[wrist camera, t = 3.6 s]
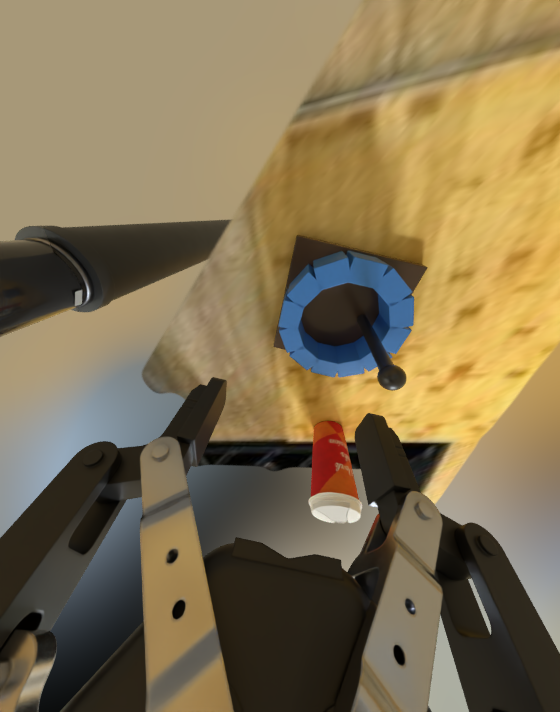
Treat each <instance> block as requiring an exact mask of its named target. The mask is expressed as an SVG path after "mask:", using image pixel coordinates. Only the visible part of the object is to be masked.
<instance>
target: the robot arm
mask: <svg viewBox="0 0 560 712" xmlns="http://www.w3.org/2000/svg"><path fill="white" fill-rule="evenodd" d="M93 296H94V287H93V283H92V280H91V278H90V276H89V274H88V272H87V271H86V269H85V268H84V266H83V265H82V264H81V263H80V261H79V260H78V259H77V258H76V257H75V256H74V255H73V254H72V253H71V252H69V251H68V250H67V249H65V248H64V247H63V246H61V245H59V244H58V243H56V242H54V241H51V240H49V239H45V238H27V239H23V240H14V241H0V337H1V336H4V335H7V334H9V333H12V332H14V331H17V330H19V329H22V328H24V327H27V326H30V325H32V324H35V323H37V322H40V321H42V320H45V319H47V318H50V317H53V316H55V315H58V314H60V313H63V312H66V311H68V310H71V309H73V308H76V307H80V306H83V305H86V304H88V303H89V302H90V301H91V300H92V299H93ZM226 384H227V381H226V380H223V379H218V378H214V377H212V378H211V380H210V382H209V383H208V385H207V386H205V385H199V386H198V387H196V388H195V389H193V390H192V391H191V393H190V394H189V396H188V397H187V399H186V400H185V402H184V403H183V405H182V407H181V408H180V409H179V411H178V412H177V414H176V415H175V417H174V418H173V420H172V421H171V423H170V424H169V426H168V427H167V429H166V430H165V432H164V433H163V434H162V435H161V436H160V437H159V438H157V439H155V440H153V441H152V442H150V443H149V444H147V445H143V446H137V447H127V448H117V447H116V445H115V444H113V443H111V442H106V441H103V442H97V443H94V444H91V445H89V446H87V447H85V448H84V449H82V450H81V451H79V452H78V453H77V454H76V455H75V456H74V457H73V458H72V459H71V460H70V462H69V463H68V464H67V465H66V466H65V467H64V468H63V469H62V470H61V472H60V473H59V474H58V475H57V476H56V477H55V478H54V479H53V480H52V481H51V483H50V484H49V485H48V486H47V487H46V488H45V489H44V490H43V491H42V493H41V494H40V495H39V496H38V497H37V498H36V499H35V500H34V501H33V503H32V504H31V505H30V506H29V507H28V508H27V509H26V510H25V511H24V513H23V514H22V515H21V516H20V517H19V518H18V519H17V521H15V522H14V524H13V525H12V526H11V527H10V528H9V529H8V530H7V531H6V533H5V534H4V535H3V536H2V537H1V538H0V712H38V707H39V701H40V696H41V692H42V690H43V687H44V684H45V682H46V679H47V677H48V675H49V673H50V670H51V668H52V666H53V663H54V659H55V655H56V647H57V644H56V639H55V636H54V635H53V633H51V632H50V630H51V628H52V627H53V625H54V623H55V622H56V620H57V618H58V616H59V615H60V613H61V611H62V609H63V608H64V606H65V604H66V603H67V601H68V599H69V598H70V596H71V594H72V592H73V591H74V589H75V587H76V586H77V584H78V582H79V580H80V579H81V577H82V575H83V574H84V572H85V570H86V569H87V567H88V565H89V563H90V562H91V560H92V558H93V556H94V555H95V553H96V551H97V549H98V548H99V546H100V544H101V543H102V541H103V539H104V538H105V536H106V534H107V533H108V531H109V529H110V527H111V526H112V524H113V522H114V521H115V519H116V517H117V515H118V513H119V512H120V510H121V508H122V507H123V505H124V503H125V502H126V500H127V499H132V498H138V497H142V505H143V515H142V518H141V521H140V541H141V542H140V543H141V566H142V590H143V613H144V621H143V622H142V624H141V625H140V626H139V627H138V628H137V629H136V630H135V631H134V632H133V633H132V635H130V637H129V638H128V639H127V640H126V641H125V642H124V643H123V644H122V645H121V646H120V647H119V648H118V650H117V651H116V652H115V653H114V654H113V655H112V656H111V657H110V658H109V660H107V661H106V663H105V664H104V665H103V666H102V667H101V668H100V669H99V670H98V671H97V672H96V673H95V674H94V675H93V677H92V678H91V679H90V680H89V681H88V682H87V683H86V684H85V685H84V687H82V689H81V690H80V691H79V692H78V693H77V694H76V695H75V696H74V697H73V698H72V699H71V701H70V702H69V703H68V704H67V705H66V706H65V707H64V708H63V709H62V710H61V711H60V712H431V710H430V708H429V706H428V701H429V694H430V685H431V679H432V671H433V663H434V657H435V649H436V642H437V634H438V627H439V619H440V614H441V618H442V621H443V625H444V628H445V631H446V635H447V638H448V641H449V645H450V648H451V652H452V655H453V658H454V662H455V665H456V669H457V672H458V675H459V679H460V682H461V685H462V689H463V691H464V695H465V699H466V702H467V706H468V709H469V712H560V653H559V652H558V650H557V648H556V646H555V644H554V642H553V641H552V639H551V637H550V635H549V633H548V631H547V630H546V628H545V626H544V624H543V622H542V620H541V619H540V617H539V615H538V613H537V611H536V609H535V607H534V606H533V604H532V602H531V600H530V598H529V596H528V595H527V593H526V591H525V589H524V587H523V585H522V584H521V582H520V580H519V578H518V576H517V574H516V573H515V571H514V569H513V567H512V565H511V564H510V562H509V560H508V558H507V556H506V554H505V552H504V551H503V549H502V547H501V546H500V544H499V543H498V542H497V540H496V539H495V538H494V537H493V536H492V535H491V534H490V533H489V532H488V531H487V530H486V529H484V528H483V527H481V526H480V525H478V524H475V523H467V524H465V525H460V524H458V523H456V522H455V521H453V520H451V519H450V518H448V517H446V516H444V515H442V514H441V513H439V511H438V509H437V507H436V506H435V505H434V503H433V502H432V501H431V500H430V499H429V498H428V497H426V496H425V495H423V494H422V493H421V492H420V489H419V487H418V484H417V482H416V480H415V477H414V475H413V472H412V470H411V467H410V465H409V462H408V460H407V458H406V455H405V452H404V450H403V449H402V448H403V447H402V445H401V442H400V440H399V438H398V436H397V435H396V434H395V432H394V431H393V430H392V428H388V425H387V423H386V420H385V418H384V417H383V416H379V415H375V414H370V413H368V414H367V415H366V416H365V417H364V419H363V420H362V422H361V423H360V424H359V426H358V427H357V429H356V431H355V442H356V447H357V452H358V457H359V462H360V466H361V471H362V476H363V481H364V486H365V491H366V496H367V500H368V505H369V506H373V507H378V511H379V514H378V515H377V516H376V518H375V521H374V523H373V525H372V527H371V530H370V532H369V534H368V537H367V539H366V541H365V544H364V546H363V548H362V550H361V552H360V554H359V555H358V557H357V558H356V559H355V560H354V562H353V563H352V565H351V566H350V568H349V570H348V572H346V571H345V570H344V569H342V566H341V560H339V559H335V558H330V557H325V556H321V555H315V554H314V555H308V556H302V557H296V558H286V557H284V556H282V555H281V554H279V553H277V552H276V551H274V550H273V549H271V548H269V547H268V546H266V545H264V544H263V543H260V542H255V541H251V540H246V539H241V538H237V537H236V538H235V542H234V543H231V544H226V545H224V546H220V547H219V548H216V549H215V550H213V551H211V552H210V553H208V554H207V555H206V556H205V557H202V552H201V547H200V542H199V538H198V533H197V528H196V523H195V518H194V513H193V508H192V503H191V498H190V494H189V489H188V484H187V479H186V475H187V473H188V471H189V469H190V466H195V467H197V466H198V464H199V462H200V460H201V457H202V455H203V453H204V451H205V448H206V446H207V444H208V442H209V439H210V437H211V435H212V433H213V430H214V428H215V426H216V424H217V421H218V419H219V417H220V415H221V412H222V410H223V408H224V405H225V400H226ZM471 578H472V580H473V582H474V584H475V587H476V589H477V592H478V594H479V597H480V599H481V601H482V604H483V606H484V608H485V611H486V613H487V616H488V618H489V621H490V624H491V635H490V633H489V631H488V628H487V626H486V623H485V621H484V618H483V616H482V613H481V611H480V609H479V606H478V603H477V601H476V598H475V596H474V593H473V591H472V588H471V586H470V583H469V581H468V579H471Z"/></svg>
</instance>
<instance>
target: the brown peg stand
mask: <svg viewBox="0 0 560 712" xmlns="http://www.w3.org/2000/svg"><path fill="white" fill-rule="evenodd" d="M340 251H343V253H344V254H345V255H346V254H347V251H352V252H357V253H361V254H365V255H369V256H373V257H376V258H378V259H380V260H381V261H383V262H385V263H386V264H388V265H390V266H391V267H393V268H394V269H395V270H396V272H397V273H398V274H399V275H400V277H401V278H402V279H403V280H404V282H405V283H406V284H407V285H408V287H409V288H410V289H411V290H412V293H413V291H414V290H415V288H416V286H417V284H418V283H419V281H420V279H421V278H422V276H423V274H424V273H425V271H426V269H427V267H426V266H424V265H420V264H416V263H412V262H408V261H404V260H400V259H395V258H391V257H387V256H383V255H379V254H375V253H371V252H366V251H362V250H358V249H354V248H350V247H346V246H341V245H337V244H333V243H329V242H325V241H321V240H317V239H312V238H308V237H304V236H300V235H297V237H296V242H295V247H294V252H293V256H292V261H291V266H290V271H289V275H288V280H287V285H286V290H285V294H284V298H285V295H286V292H287V289H289V285H290V283H291V282H292V281H293V280H294V279H295V278H296V277H297V276H298V275H299V274H300V272H301V271H302V270H303V269H304V268H305V267H306V266H307V265H308V264H310V265H311V266H312V267H313V268H314V266H313V261H314V260H316V259H319V258H322V257H325V256H328V255H331V254H334V253H337V252H340ZM412 293H410V294H411V295H412ZM283 302H284V299H283ZM282 307H283V304H282ZM281 312H282V309H281ZM378 315H379V303H378V293H377V292H376V291H375V290H374V289H373V288H369V287H365V286H361V285H357V284H352V283H345V284H341V285H338V286H334V287H331V288H327V289H324V290H322V291H321V292H320V293H319V294H318V295H317V296H316V297H315V298H313V299H312V300H311V301H310V302H309V303H308V304H307V305H306V306H305V307H304V310H303V313H302V317H301V321H302V324H303V327H304V331H305V332H306V333H307V334H308V335H310V336H311V337H312V338H313V339H314V340H315V341H316V342H318V343H322V344H326V345H331V346H340V345H344V344H349V343H354V342H355V341H356V340H358V339H359V338H361V337H362V336H364V338H365V340H366V342H367V344H368V347H369V349H370V351H371V353H372V356H373V358H374V360H375V362H376V364H377V367H378V369H379V372H378V376H377V378H378V382H379V384H380V385H381V386H382V387H383V388H385V389H388V390H398V389H400V388H402V387H403V386H404V384H405V383H406V374H405V372H404V370H403V369H401V368H400V367H398V366H396V365H394V364H393V362H392V361H391V359H390V357H389V355H388V354H387V352H386V350H385V348H384V346H383V345H382V343H381V341H380V339H379V338H378V336H377V334H376V332H375V331H374V329H373V327H372V326H373V324H374V322H375V320H376V318H377V316H378ZM280 316H281V313H280ZM279 321H280V318H279ZM279 328H280V327H279V323H278V327H277V332H276V337H275V342H274V347H277V348H281V349H285V346H284V343H283V341H282V338H281V335H280V333H279ZM285 350H286V349H285Z"/></svg>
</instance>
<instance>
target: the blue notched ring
mask: <svg viewBox="0 0 560 712" xmlns="http://www.w3.org/2000/svg"><path fill="white" fill-rule="evenodd" d="M313 266H314V268H313V267H312V266H311V265H310V264H308V265H307V266H306V267H305V268H304V269H303V270H302V271H301V272H300V274H299V275H298V276H297V277H296V278H295V279H294V280H293V281H292V282H291V283H290V285H289V289H287V292H286V295H285V298H284V302H283V307H282V312H281V316H280V321H279V327H280V328H279V333H280V335H281V338H282V341H283V343H284V346H285V349H286V351H287V353H288V352H290V357H291V358H293V359H294V360H295V361H296V362H298V363H299V364H300V365H301V366H303V367H304V368H305V369H306V370H308V369H310V368H311V372H313V373H318V374H322V375H326V376H331V377H335V375H336V373H337V372H338V377H345V376H351V375H357V374H363V373H364V368H365V369H367V370H368V371H371V370H372V369H374V368H376V367H377V364H376V362H375V360H374V358H373V356H372V353H371V351H370V349H369V347H368V344H367V342H366V340H365V338H364V336H362V337H361V338H359V339H358V340H356V341H355V342H354V343H349V344H344V345H340V346H331V345H326V344H322V343H318V342H316V341H315V340H314V339H313V338H312V337H311V336H310V335H308V334H307V333H306V332H305V331H304V327H303V324H302V321H301V317H302V313H303V310H304V307H305V306H306V305H307V304H308V303H309V302H310V301H311V300H312V299H313V298H315V297H316V296H317V295H318V294H319V293H320V292H321V291H322V290H324V289H327V288H331V287H334V286H338V285H341V284H345V283H352V284H357V285H361V286H365V287H369V288H373V289H374V290H375V291H376V292H377V293H378V303H379V315H378V316H377V318H376V320H375V322H374V324H373V326H372V327H373V329H374V331H375V332H376V334H377V336H378V338H379V339H380V341H381V343H382V345H383V346H384V348H385V350H386V352H387V354H388V355H389V357H390V358H392V356H391V354H390V353H395V354H396V353H397V352H398V350H399V349H400V347H401V346H402V344H403V343H404V341H405V340H406V338H407V337H408V335H409V334H410V332H411V329H410V328H409V327H408V326H413V319H414V297H413V296H412V295H411V294H410V293H412V290H411V289H410V288H409V287H408V285H407V284H406V283H405V282H404V280H403V279H402V278H401V277H400V275H399V274H398V273H397V272H396V270H395V269H394V268H393V267H391V266H390V265H388V264H386V263H385V262H383V261H381V260H380V259H378V258H376V257H373V256H369V255H365V254H361V253H357V252H352V251H347V254H346V255H345V254H344V253H343V251H340V252H337V253H334V254H331V255H328V256H325V257H322V258H319V259H316V260H314V261H313Z"/></svg>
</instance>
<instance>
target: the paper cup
mask: <svg viewBox="0 0 560 712" xmlns="http://www.w3.org/2000/svg"><path fill="white" fill-rule="evenodd" d="M309 505H310V507H311V511H312V514H313V515H314V516H315V517H316V518H318V519H320V520H322V521H325V522H330V523H334V522H338V523H345V522H347V519H348V522H349V523H352V522H355V521H357V520H359V519H360V517H361V509H362V503H361V502H360V501H359V498H358V494H357V489H356V485H355V481H354V476H353V471H352V467H351V462H350V458H349V454H348V449H347V445H346V440H345V436H344V432H343V429H342V427H341V425H340V424H338V423H336V422H333V421H323V422H320V423H318V424H317V425H316V426H315V428H314V437H313V458H312V481H311V498H310V499H309Z"/></svg>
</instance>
